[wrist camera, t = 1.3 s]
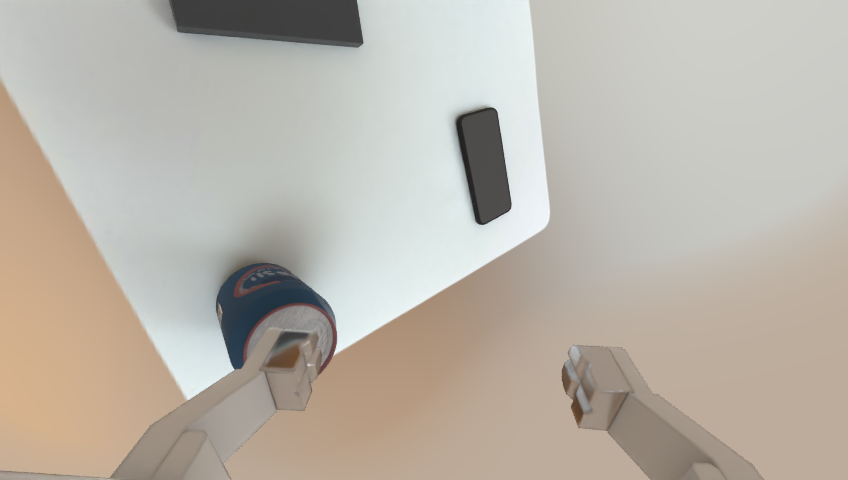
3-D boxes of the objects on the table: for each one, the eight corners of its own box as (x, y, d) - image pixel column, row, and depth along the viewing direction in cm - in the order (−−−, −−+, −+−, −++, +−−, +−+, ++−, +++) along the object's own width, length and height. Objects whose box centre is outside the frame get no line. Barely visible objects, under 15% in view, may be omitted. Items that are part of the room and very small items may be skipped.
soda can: (296, 257, 32) (345, 287, 22) (298, 324, 33) (345, 381, 23) (212, 264, 28) (228, 304, 18) (216, 341, 29) (234, 418, 19)
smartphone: (480, 228, 45) (458, 116, 40) (475, 227, 46) (453, 117, 41) (513, 209, 49) (497, 105, 44) (508, 209, 50) (492, 106, 45)
